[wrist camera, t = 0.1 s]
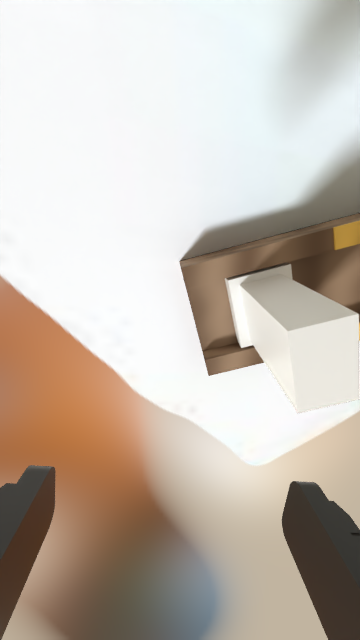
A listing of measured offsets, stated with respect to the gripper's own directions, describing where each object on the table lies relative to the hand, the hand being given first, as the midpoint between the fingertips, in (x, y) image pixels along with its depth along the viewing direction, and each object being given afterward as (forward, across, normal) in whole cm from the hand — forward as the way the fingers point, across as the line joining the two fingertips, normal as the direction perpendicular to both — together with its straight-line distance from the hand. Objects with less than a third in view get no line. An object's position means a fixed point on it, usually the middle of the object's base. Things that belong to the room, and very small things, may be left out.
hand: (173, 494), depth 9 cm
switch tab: (+20, -9, -4) cm, 22 cm away
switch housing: (+22, -14, -6) cm, 26 cm away
